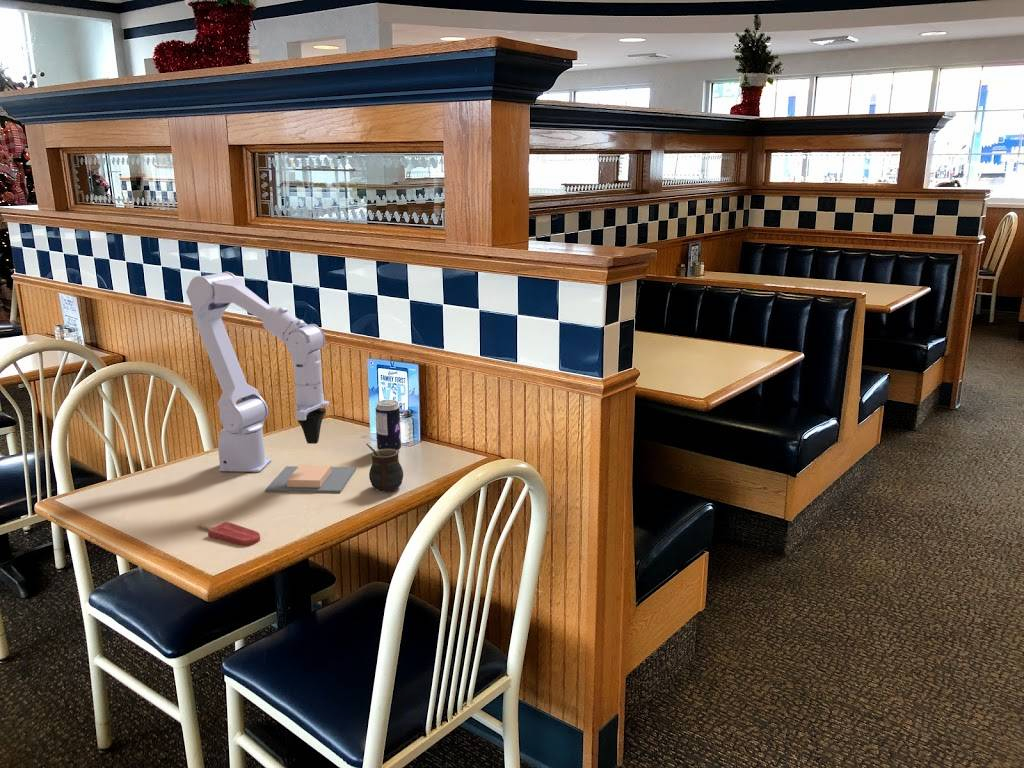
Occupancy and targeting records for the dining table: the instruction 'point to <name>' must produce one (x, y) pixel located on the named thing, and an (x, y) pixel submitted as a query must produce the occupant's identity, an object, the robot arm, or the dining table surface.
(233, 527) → the popsicle
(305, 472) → the tile
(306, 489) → the slate pad
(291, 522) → the dining table surface
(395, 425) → the beverage can
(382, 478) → the mate gourd
